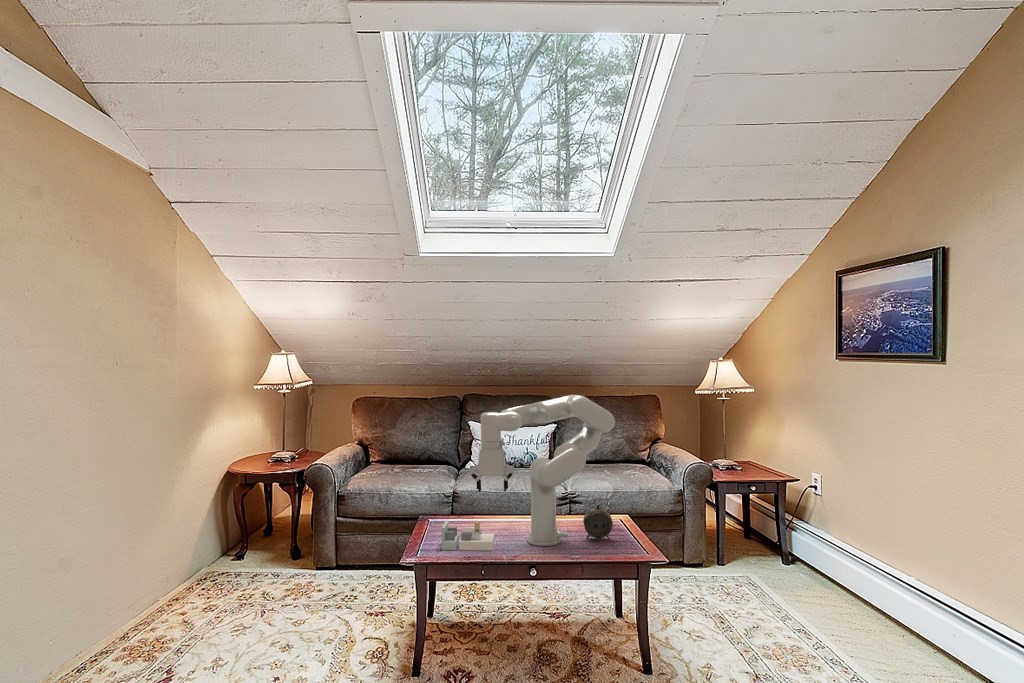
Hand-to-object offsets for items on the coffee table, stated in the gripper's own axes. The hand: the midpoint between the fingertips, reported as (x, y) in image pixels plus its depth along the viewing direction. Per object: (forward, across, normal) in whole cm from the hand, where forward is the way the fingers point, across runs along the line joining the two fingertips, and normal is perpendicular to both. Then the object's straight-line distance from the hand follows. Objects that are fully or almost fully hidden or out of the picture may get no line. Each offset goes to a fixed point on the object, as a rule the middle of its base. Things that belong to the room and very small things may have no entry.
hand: (492, 491), depth 210 cm
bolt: (+17, +8, +1) cm, 19 cm away
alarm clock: (+22, -40, -9) cm, 46 cm away
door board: (+20, +6, +1) cm, 21 cm away
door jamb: (+20, +16, +1) cm, 26 cm away
